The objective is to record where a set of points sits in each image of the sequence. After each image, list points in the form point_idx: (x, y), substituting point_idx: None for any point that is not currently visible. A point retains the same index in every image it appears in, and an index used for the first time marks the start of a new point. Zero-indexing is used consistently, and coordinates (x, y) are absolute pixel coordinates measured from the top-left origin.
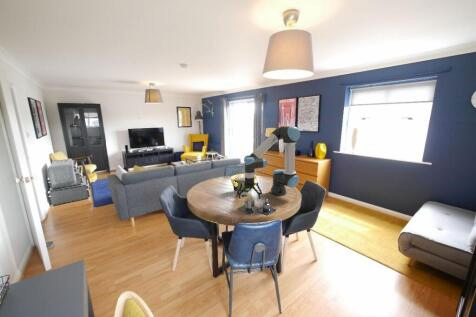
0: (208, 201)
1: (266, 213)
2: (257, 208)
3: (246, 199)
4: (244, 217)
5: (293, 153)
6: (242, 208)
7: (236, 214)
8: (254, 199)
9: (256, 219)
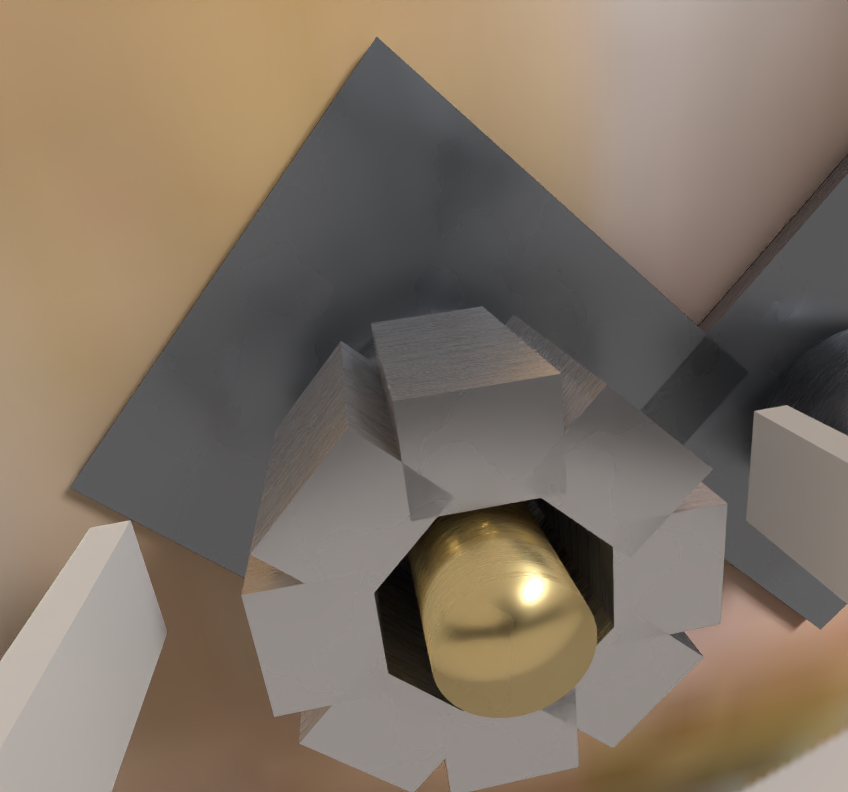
0: None
1: (811, 587)
2: (640, 397)
3: (363, 679)
4: (365, 783)
5: None
6: (230, 474)
7: (161, 727)
8: (719, 602)
9: (593, 784)
